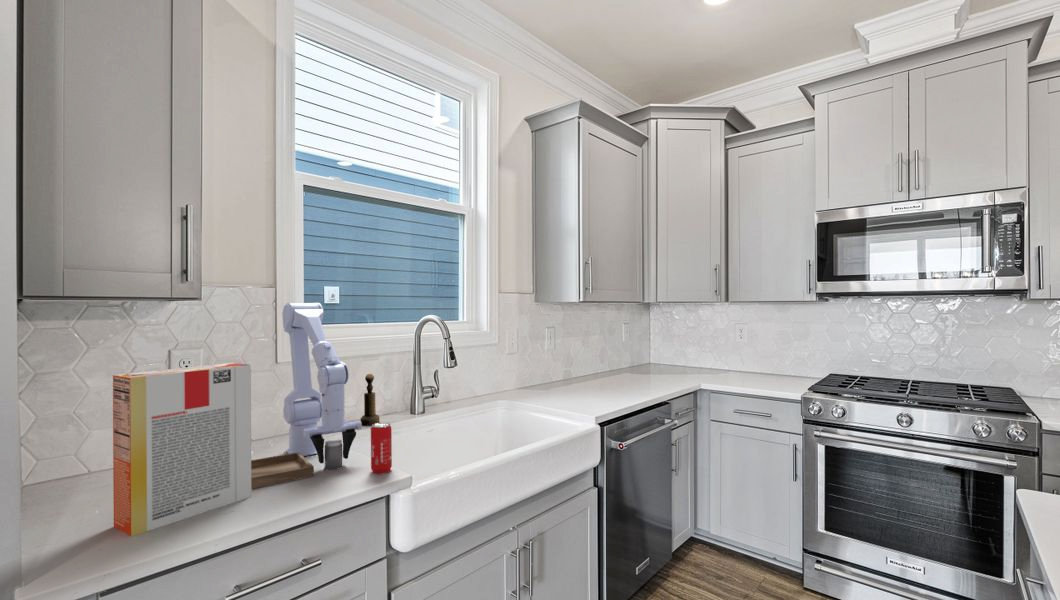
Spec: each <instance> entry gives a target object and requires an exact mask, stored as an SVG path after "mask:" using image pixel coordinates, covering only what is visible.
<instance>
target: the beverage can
mask: <svg viewBox="0 0 1060 600" xmlns="http://www.w3.org/2000/svg"><path fill="white" fill-rule="evenodd" d="M392 437H393V436H392V426H391V423H388V422H379V423H377V424H373V425H371V428H370V469H371V470H372V473H373V474H376V475H384V474H387V473H389V472H391V469H392V467H393V466H392V465H393V464H392V463H393V462H392V460H393V459H392V458H393V457H392V456H393V452H392V450H393V449H392V446H393V445H392ZM383 473H384V474H383Z"/></svg>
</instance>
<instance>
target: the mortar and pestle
mask: <svg viewBox="0 0 1060 600" xmlns="http://www.w3.org/2000/svg"><path fill="white" fill-rule="evenodd" d="M364 379H365V381H366V383H367V386H366V391H367V392H364V393H363V395H364V396H363V401H364V402H363V403H364V409H363V411H364V415H362V416H360V422H361V423H362V426H365V425H366V426H372V424H377V423H381V422H380V416H379V414H377V413H376V392H374V391H373V388H374V386H373V381H374V379H375V376H374V375H373V374H372V373H368V374H365V377H364Z"/></svg>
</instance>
